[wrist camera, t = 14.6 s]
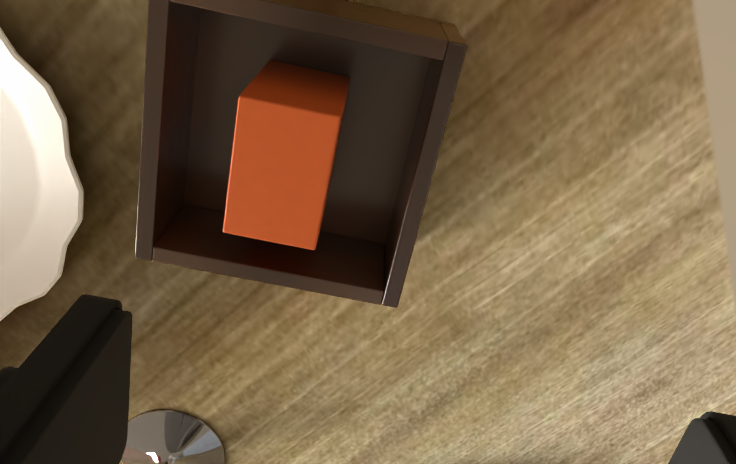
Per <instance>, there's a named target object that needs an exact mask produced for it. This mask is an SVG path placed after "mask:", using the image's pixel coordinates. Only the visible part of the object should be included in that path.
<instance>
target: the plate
mask: <svg viewBox="0 0 736 464" xmlns="http://www.w3.org/2000/svg"><path fill="white" fill-rule="evenodd" d="M83 206H84V189H83V187H82V184H81V181H80V179H79V176H78V173H77V171H76V168H75V166H74V163H73V160H72V158H71V153H70V144H69V134H68V124H67V117H66V115H65V113H64V111H63V109H62V107H61V105H60V104H59V102H58V100H57V98H56V96H55V94H54V92H53V90H52V88H51V86H50V85H49V84H48V83H47V82H46V81H45V80H44V79H43V78H42V77H41V76H40V75H39V74H38V73H37V72H36V71H35V70H34V69H33V68H32V67H31V66H30V65H29V64H28V63H27V62H26V61H25V60H24V59H23V58H22V57H21V56H20V55H19V54H18V53H17V52H16V50H15V49H14V47H13V46H12V44H11V43H10V41H9V40H8V38H7V37H6V35H5V34H4V32H3V30H2V29H1V27H0V321H1V320H2V319H3V318H4V317H6V316H7V315H8V314H9V313H10V312H11V311H13V310H14V309H15V308H16V307H18V306H20V305H23V304H25V303H28V302H30V301H32V300H35V299H37V298H40V297H42V296H45V295H46V293H47V292H48V291H49V290H50V289H51V287H52V286H53V285H54V284H55V283H56V282H57V280H58V279H59V278H60V277H61V276H62V272H63V267H64V262H65V256H66V251H67V246H68V244H69V242H70V241H71V239H72V237H73V236H74V234H75V232H76V230H77V229H78V227H79V225H80V224H81V222H82V220H83Z"/></svg>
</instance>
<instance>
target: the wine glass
mask: <svg viewBox="0 0 736 464" xmlns="http://www.w3.org/2000/svg"><path fill="white" fill-rule="evenodd" d="M122 461H123V463H124V464H224V463H225V452H224V447H223V445H222V442H221V440H220V439H219V437H218V435H217V434H216V433H215V432H214V431H213V430H212V429H211V428H210V427H209V426H208V425H206V424H205V423H204V422H202V421H200V420H199V419H197V418H195V417H193V416H190V415H188V414H185V413H181V412H177V411H171V410H156V411H149V412H146V413H142V414H140V415H138V416H136V417H134V418H132V419H131V420H130V421H128V435H127V443H126V447H125V451H124V453H123V456H122Z"/></svg>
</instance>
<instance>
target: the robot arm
mask: <svg viewBox="0 0 736 464" xmlns="http://www.w3.org/2000/svg"><path fill="white" fill-rule="evenodd" d="M131 340H132V314H131V312H128V311H123V310H122V304H121V302H120V301H119V300H113V299H108V298H103V297H97V296H92V295H87V294H84V295H82V296H80V297H79V298H78V299H77V301H76V302H75V303H74V304H73V305H72V306H71V308H70V309H69V310H68V311H67V312H66V313H65V314H64V316H63V317H62V318H61V319H60V320H59V321H58V323H57V324H56V325H55V326H54V327H53V328H52V330H51V331H50V332H49V333H48V334H47V335H46V337H45V338H44V339H43V340H42V341H41V342H40V343H39V345H38V346H37V347H36V348H35V349H34V350H33V352H32V353H31V354H30V355H29V356H28V357H27V359H26V360H25V361H24V362H23V363H22V364H21V366H20V367H19V368H15V367H6V368H4V369H2V370H1V371H0V464H119V463H120V461H121V459H122V456H123V453H124V451H125V447H126V443H127V435H128V411H129V388H130V364H131ZM668 464H736V416H732V415H727V414H722V413H716V412H706V413H705V414H703V415H702V416H701V417H700V418H695V419H694V420H692V421H691V423H690V424H689V426H688V428H687V429H686V431H685V433H684V435H683V437H682V439H681V441H680V443H679V444H678V446H677V448H676V450H675V452H674V454H673V456H672V458H671V459H670V461H669V463H668Z"/></svg>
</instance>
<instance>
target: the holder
mask: <svg viewBox="0 0 736 464" xmlns="http://www.w3.org/2000/svg"><path fill="white" fill-rule="evenodd" d="M466 50H467V44H466V43H465V41H464V40H463V38H462V36H461V35H460V33H459V31H458V30H457V28H456V26H455V25H454V24H450V23H445V22H441V21H436V20H432V19H427V18H423V17H418V16H414V15H409V14H405V13H400V12H396V11H391V10H387V9H382V8H377V7H373V6H368V5H364V4H359V3H355V2H350V1H346V0H149V4H148V23H147V42H146V60H145V79H144V98H143V116H142V135H141V153H140V172H139V191H138V209H137V228H136V247H135V258H137V259H142V260H148V261H152V260H153V261H155V262H160V263H165V264H170V265H176V266H181V267H186V268H191V269H196V270H202V271H207V272H212V273H217V274H222V275H228V276H233V277H238V278H243V279H248V280H254V281H259V282H264V283H269V284H275V285H280V286H285V287H290V288H295V289H301V290H306V291H311V292H316V293H321V294H327V295H332V296H337V297H342V298H348V299H353V300H358V301H363V302H368V303H374V304H379V305H381V303H382V305H384V306H389V307H395V308H397V307H398V304H399V300H400V297H401V293H402V289H403V285H404V282H405V278H406V274H407V270H408V267H409V263H410V259H411V256H412V252H413V248H414V244H415V241H416V237H417V233H418V229H419V226H420V222H421V218H422V214H423V211H424V207H425V203H426V200H427V196H428V192H429V188H430V185H431V181H432V177H433V173H434V170H435V166H436V162H437V158H438V155H439V151H440V147H441V144H442V140H443V136H444V132H445V129H446V125H447V121H448V117H449V114H450V110H451V106H452V103H453V99H454V95H455V91H456V88H457V84H458V80H459V76H460V73H461V69H462V65H463V61H464V58H465V54H466ZM269 60H272V61H277V62H281V63H286V64H291V65H295V66H300V67H305V68H309V69H314V70H319V71H323V72H328V73H333V74H338V75H342V76H347V77H350V84H349V89H348V94H347V99H346V104H345V109H344V115H343V120H342V125H341V130H340V135H339V140H338V146H337V151H336V156H335V161H334V166H333V171H332V176H331V182H330V187H329V192H328V196H327V201H326V205H325V210H324V214H323V219H322V223H321V227H320V232H319V236H318V241H317V245H316V249H315V250H310V249H305V248H300V247H295V246H290V245H285V244H279V243H274V242H269V241H264V240H259V239H254V238H249V237H244V236H239V235H233V234H228V233H224V232H223V224H224V215H225V207H226V198H227V190H228V182H229V173H230V165H231V156H232V148H233V140H234V131H235V123H236V114H237V106H238V98H239V95H240V94H241V93H242V92H243V91H244V90H245V88H246V87H247V86H248V85H249V84H250V82H251V81H252V80H253V79H254V78H255V77H256V75H257V74H258V73H259V72H260V71H261V70H262V68H263V67H264V66H265V65H266V64H267V62H268V61H269Z"/></svg>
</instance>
